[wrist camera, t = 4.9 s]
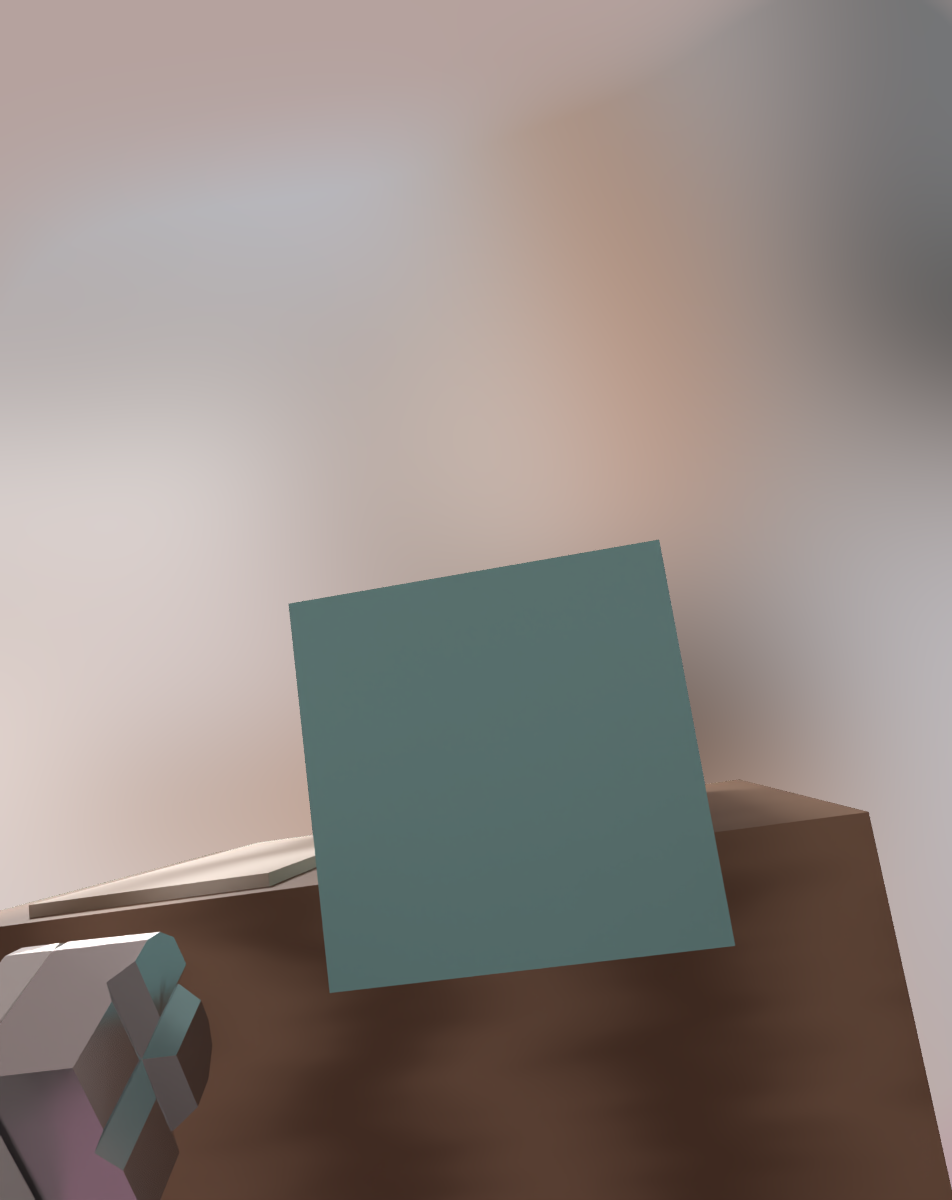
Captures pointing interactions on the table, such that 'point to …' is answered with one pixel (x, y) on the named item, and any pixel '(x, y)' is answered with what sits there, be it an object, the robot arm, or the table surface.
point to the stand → (549, 1039)
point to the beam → (505, 773)
